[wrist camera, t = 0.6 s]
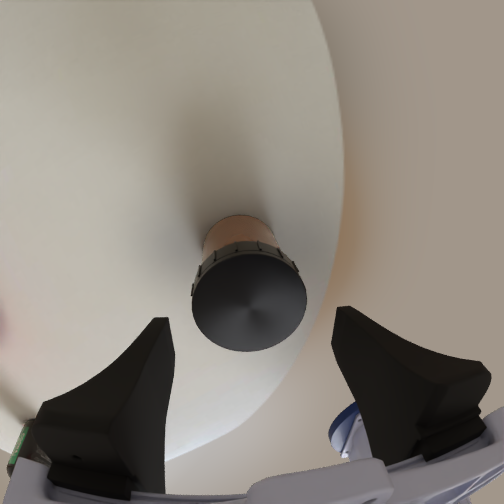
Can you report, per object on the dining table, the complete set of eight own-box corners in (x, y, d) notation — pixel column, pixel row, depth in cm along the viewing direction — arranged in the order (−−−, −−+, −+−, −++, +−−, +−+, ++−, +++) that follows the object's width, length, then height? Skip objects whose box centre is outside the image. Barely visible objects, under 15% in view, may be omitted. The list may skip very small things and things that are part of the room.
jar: (274, 280, 23) (296, 338, 16) (205, 284, 22) (202, 344, 16) (276, 213, 21) (302, 252, 14) (201, 216, 20) (193, 257, 14)
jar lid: (296, 329, 17) (302, 347, 16) (198, 335, 17) (197, 354, 15) (302, 237, 15) (311, 250, 14) (188, 242, 15) (185, 255, 13)
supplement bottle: (18, 413, 27) (-12, 482, 16) (58, 424, 28) (33, 502, 16) (37, 442, 29) (16, 506, 18) (76, 452, 30) (59, 522, 19)
